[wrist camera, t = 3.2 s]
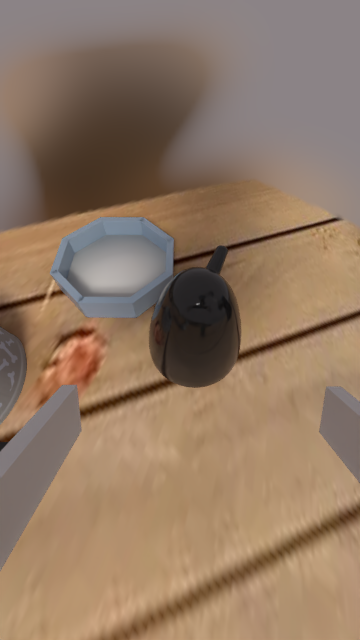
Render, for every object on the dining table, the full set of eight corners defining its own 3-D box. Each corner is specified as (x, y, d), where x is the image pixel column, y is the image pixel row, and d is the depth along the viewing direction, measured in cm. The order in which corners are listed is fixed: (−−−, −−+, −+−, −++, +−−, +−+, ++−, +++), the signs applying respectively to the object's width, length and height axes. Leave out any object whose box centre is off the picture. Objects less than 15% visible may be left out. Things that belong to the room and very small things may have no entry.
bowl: (128, 221, 46) (124, 203, 43) (196, 272, 40) (197, 255, 37) (43, 270, 40) (32, 254, 37) (107, 339, 34) (100, 327, 31)
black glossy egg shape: (244, 339, 34) (284, 255, 21) (213, 412, 29) (240, 362, 16) (176, 310, 36) (173, 219, 23) (137, 373, 31) (107, 302, 18)
